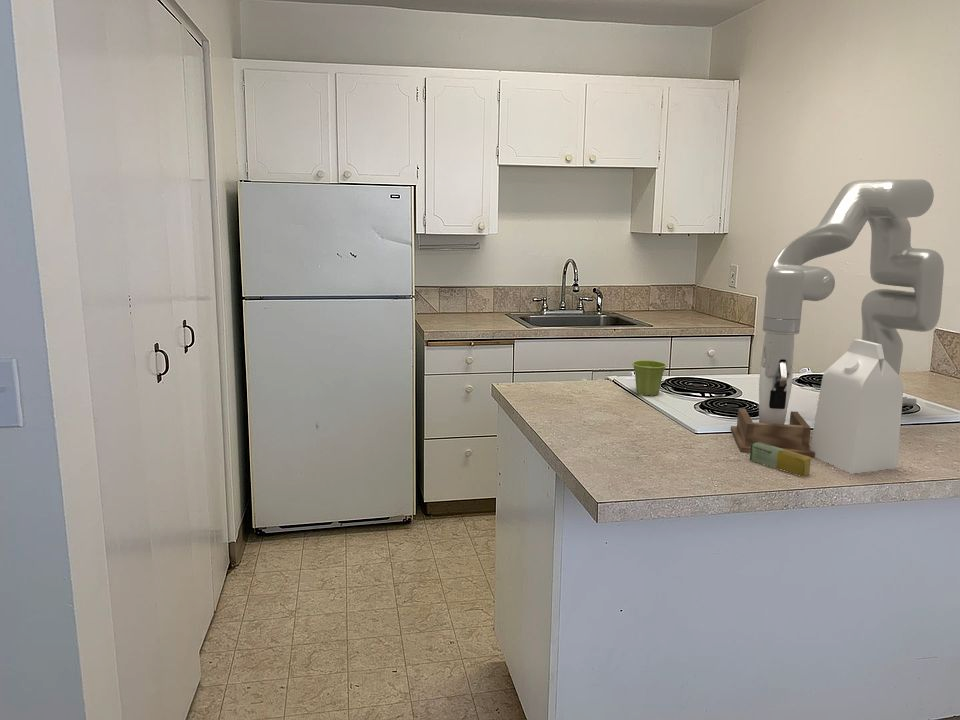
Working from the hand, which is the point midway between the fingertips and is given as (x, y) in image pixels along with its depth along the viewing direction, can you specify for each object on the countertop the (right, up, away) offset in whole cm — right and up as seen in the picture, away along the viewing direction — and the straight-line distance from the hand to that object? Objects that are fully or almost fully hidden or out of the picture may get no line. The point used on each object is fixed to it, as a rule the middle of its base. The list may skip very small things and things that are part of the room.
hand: (773, 403), depth 162 cm
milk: (+12, -12, -10) cm, 20 cm away
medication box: (-5, -13, -14) cm, 20 cm away
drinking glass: (0, -7, +1) cm, 7 cm away
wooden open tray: (0, -9, +1) cm, 9 cm away
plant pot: (-18, 0, +42) cm, 46 cm away
